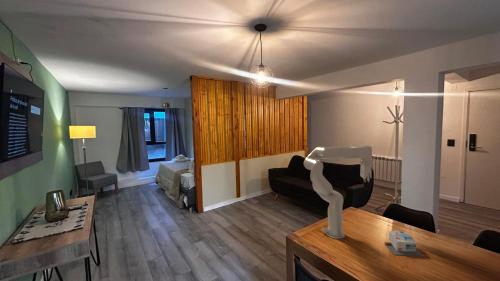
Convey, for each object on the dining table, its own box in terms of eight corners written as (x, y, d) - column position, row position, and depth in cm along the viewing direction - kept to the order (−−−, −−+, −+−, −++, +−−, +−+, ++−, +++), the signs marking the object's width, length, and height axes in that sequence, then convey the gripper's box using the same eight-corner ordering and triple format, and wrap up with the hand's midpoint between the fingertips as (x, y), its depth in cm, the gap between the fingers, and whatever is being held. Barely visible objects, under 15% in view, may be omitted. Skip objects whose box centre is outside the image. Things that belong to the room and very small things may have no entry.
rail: (385, 245, 137) (385, 243, 137) (384, 244, 138) (384, 242, 138) (413, 246, 134) (413, 244, 134) (412, 245, 136) (411, 243, 136)
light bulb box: (406, 231, 137) (417, 242, 126) (405, 240, 138) (416, 252, 128) (388, 230, 139) (397, 242, 128) (388, 239, 140) (396, 251, 129)
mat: (393, 255, 127) (393, 254, 127) (386, 246, 136) (386, 245, 136) (423, 256, 124) (423, 255, 124) (413, 247, 134) (413, 246, 134)
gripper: (357, 161, 165) (357, 184, 166) (363, 164, 150) (364, 190, 151) (368, 160, 163) (368, 184, 165) (375, 164, 149) (375, 190, 150)
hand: (366, 187), depth 158 cm, fingers closed
